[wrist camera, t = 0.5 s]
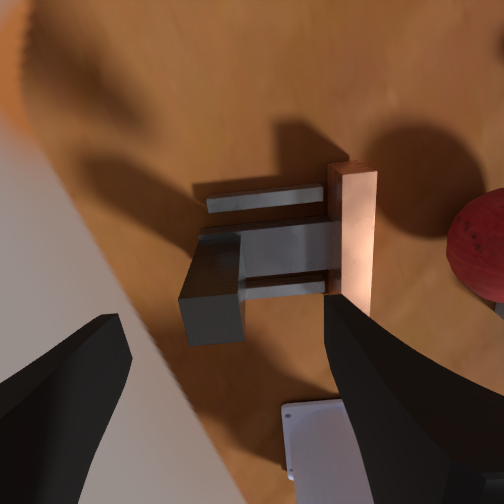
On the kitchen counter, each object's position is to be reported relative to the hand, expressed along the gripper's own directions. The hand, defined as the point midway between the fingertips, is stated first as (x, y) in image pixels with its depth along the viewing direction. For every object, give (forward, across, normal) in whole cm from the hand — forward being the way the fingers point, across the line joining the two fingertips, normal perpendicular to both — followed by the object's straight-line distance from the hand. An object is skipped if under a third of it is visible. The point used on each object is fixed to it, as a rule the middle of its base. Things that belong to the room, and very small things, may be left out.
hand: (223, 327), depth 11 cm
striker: (+9, -3, +1) cm, 10 cm away
